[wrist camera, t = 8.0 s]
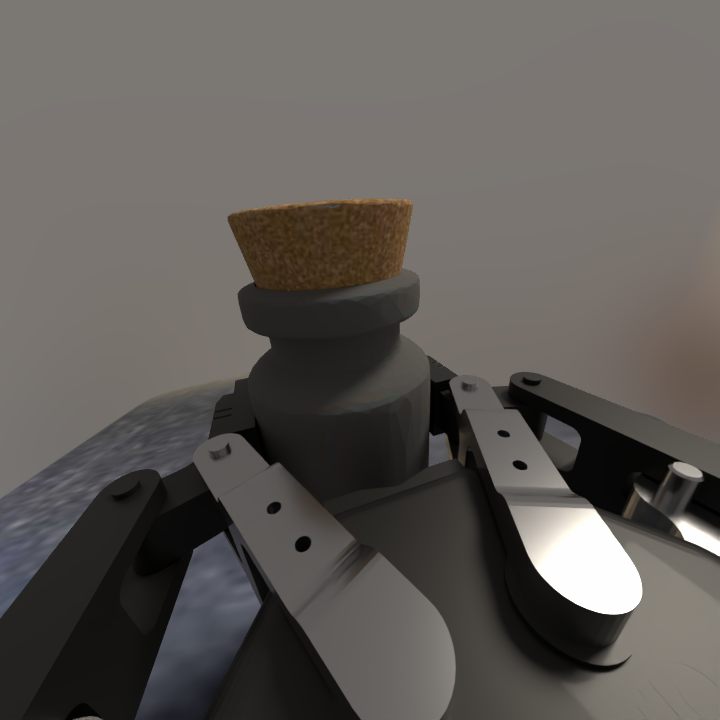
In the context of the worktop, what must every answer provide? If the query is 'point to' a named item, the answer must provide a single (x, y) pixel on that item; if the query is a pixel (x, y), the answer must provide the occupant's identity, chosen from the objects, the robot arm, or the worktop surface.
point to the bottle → (335, 343)
